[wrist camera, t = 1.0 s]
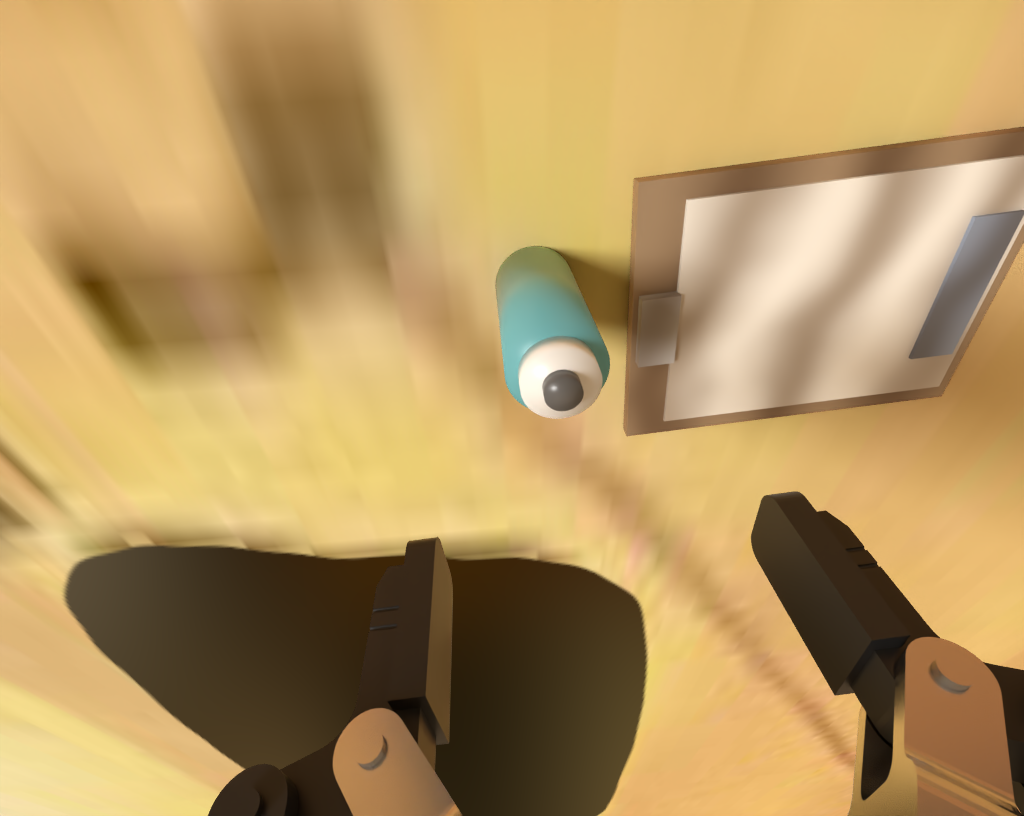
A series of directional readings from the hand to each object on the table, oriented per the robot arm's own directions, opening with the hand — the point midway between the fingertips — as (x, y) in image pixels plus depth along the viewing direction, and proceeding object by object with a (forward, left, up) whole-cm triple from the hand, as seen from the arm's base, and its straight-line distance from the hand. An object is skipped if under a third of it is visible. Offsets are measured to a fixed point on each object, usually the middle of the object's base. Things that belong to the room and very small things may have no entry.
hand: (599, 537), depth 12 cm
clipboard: (-15, +3, -16) cm, 22 cm away
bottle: (0, 0, -16) cm, 16 cm away
